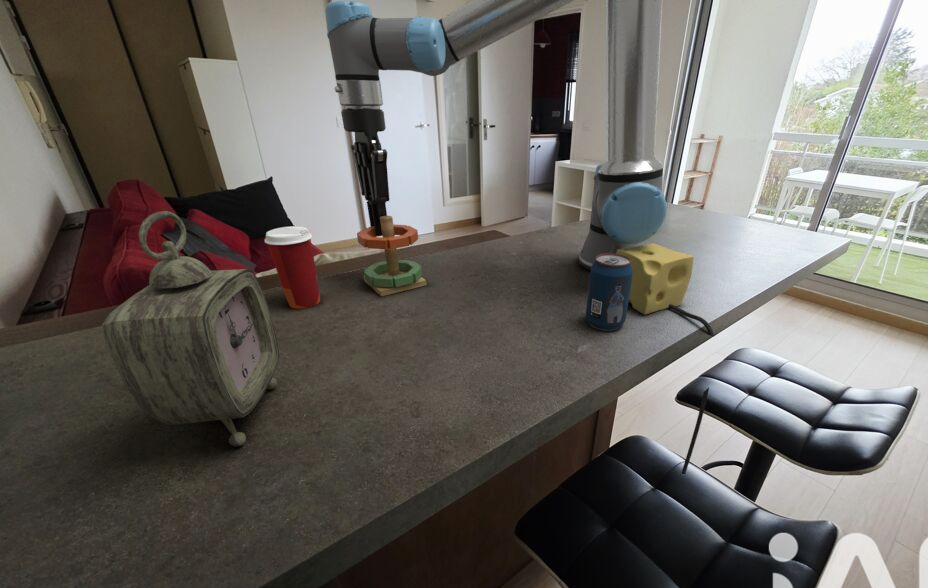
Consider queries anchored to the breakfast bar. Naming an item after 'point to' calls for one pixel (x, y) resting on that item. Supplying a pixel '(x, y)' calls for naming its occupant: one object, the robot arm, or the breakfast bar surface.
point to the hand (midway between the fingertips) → (380, 233)
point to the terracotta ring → (374, 242)
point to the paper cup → (295, 265)
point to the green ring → (396, 280)
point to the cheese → (657, 277)
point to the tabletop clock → (194, 339)
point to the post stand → (393, 263)
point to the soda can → (609, 291)
